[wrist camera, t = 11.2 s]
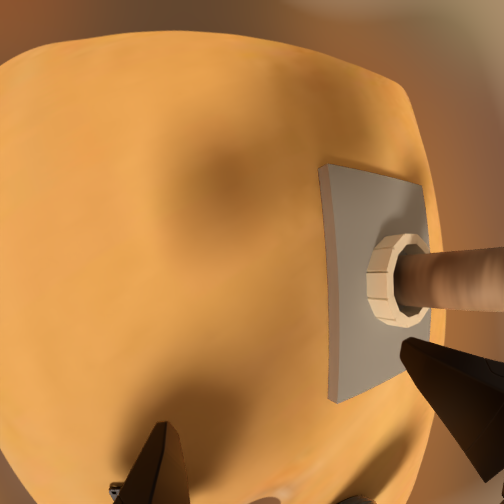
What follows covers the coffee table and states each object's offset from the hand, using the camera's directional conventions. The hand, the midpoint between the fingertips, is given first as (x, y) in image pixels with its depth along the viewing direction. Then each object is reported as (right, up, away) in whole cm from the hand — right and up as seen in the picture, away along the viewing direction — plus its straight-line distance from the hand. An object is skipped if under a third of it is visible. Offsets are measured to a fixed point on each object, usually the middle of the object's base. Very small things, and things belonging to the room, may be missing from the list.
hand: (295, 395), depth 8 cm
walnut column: (+13, +2, +17) cm, 21 cm away
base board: (+13, +2, +18) cm, 22 cm away
